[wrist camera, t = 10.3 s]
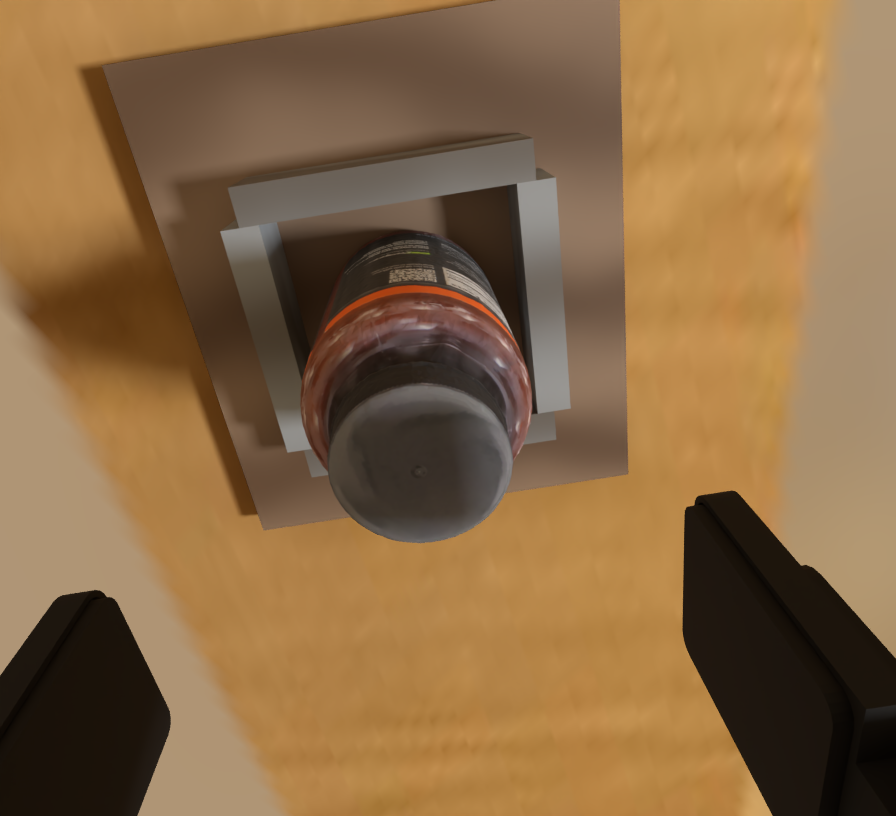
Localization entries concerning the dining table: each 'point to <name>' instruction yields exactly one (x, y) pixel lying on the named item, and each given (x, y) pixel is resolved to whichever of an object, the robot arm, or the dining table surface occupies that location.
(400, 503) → the supplement bottle
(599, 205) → the bottle holder
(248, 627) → the dining table surface
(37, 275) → the dining table surface
